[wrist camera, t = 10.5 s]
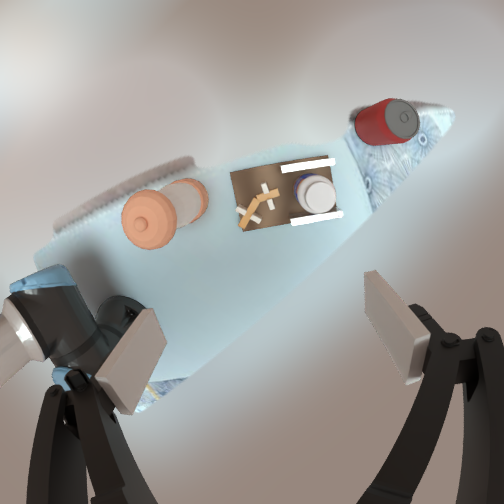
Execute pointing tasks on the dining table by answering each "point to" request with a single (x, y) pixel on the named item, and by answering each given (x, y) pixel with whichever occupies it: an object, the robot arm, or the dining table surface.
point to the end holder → (307, 216)
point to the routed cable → (250, 211)
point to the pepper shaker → (162, 212)
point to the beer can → (387, 122)
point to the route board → (286, 203)
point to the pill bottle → (314, 193)
